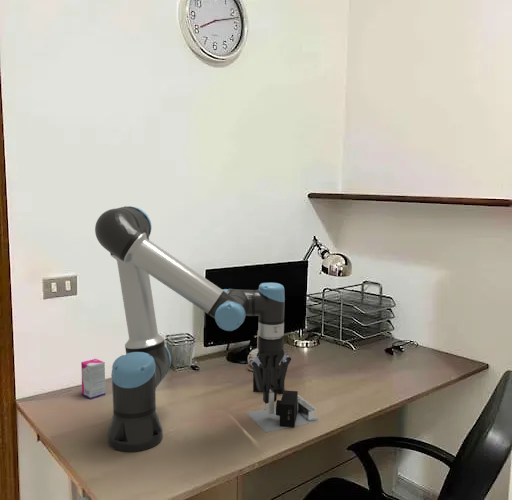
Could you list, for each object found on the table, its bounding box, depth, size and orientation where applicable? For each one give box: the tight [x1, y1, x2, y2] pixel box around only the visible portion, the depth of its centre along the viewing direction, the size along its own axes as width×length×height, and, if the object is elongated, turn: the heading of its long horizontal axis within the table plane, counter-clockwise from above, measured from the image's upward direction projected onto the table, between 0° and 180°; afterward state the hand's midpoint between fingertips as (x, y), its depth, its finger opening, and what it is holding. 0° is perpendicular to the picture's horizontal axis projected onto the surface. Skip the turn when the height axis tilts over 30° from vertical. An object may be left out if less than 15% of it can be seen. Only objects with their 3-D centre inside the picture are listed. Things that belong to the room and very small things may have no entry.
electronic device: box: [252, 364, 285, 395], centre depth 187 cm, size 4×10×10 cm, turn 78°
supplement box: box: [81, 358, 106, 400], centre depth 186 cm, size 6×6×12 cm
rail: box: [297, 394, 318, 421], centre depth 170 cm, size 3×12×4 cm, turn 25°
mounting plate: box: [246, 406, 321, 433], centre depth 167 cm, size 18×14×2 cm
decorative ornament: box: [246, 330, 261, 372], centre depth 211 cm, size 8×8×15 cm
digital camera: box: [275, 389, 299, 428], centre depth 165 cm, size 10×5×7 cm, turn 171°
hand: (269, 412), depth 165 cm, fingers closed
